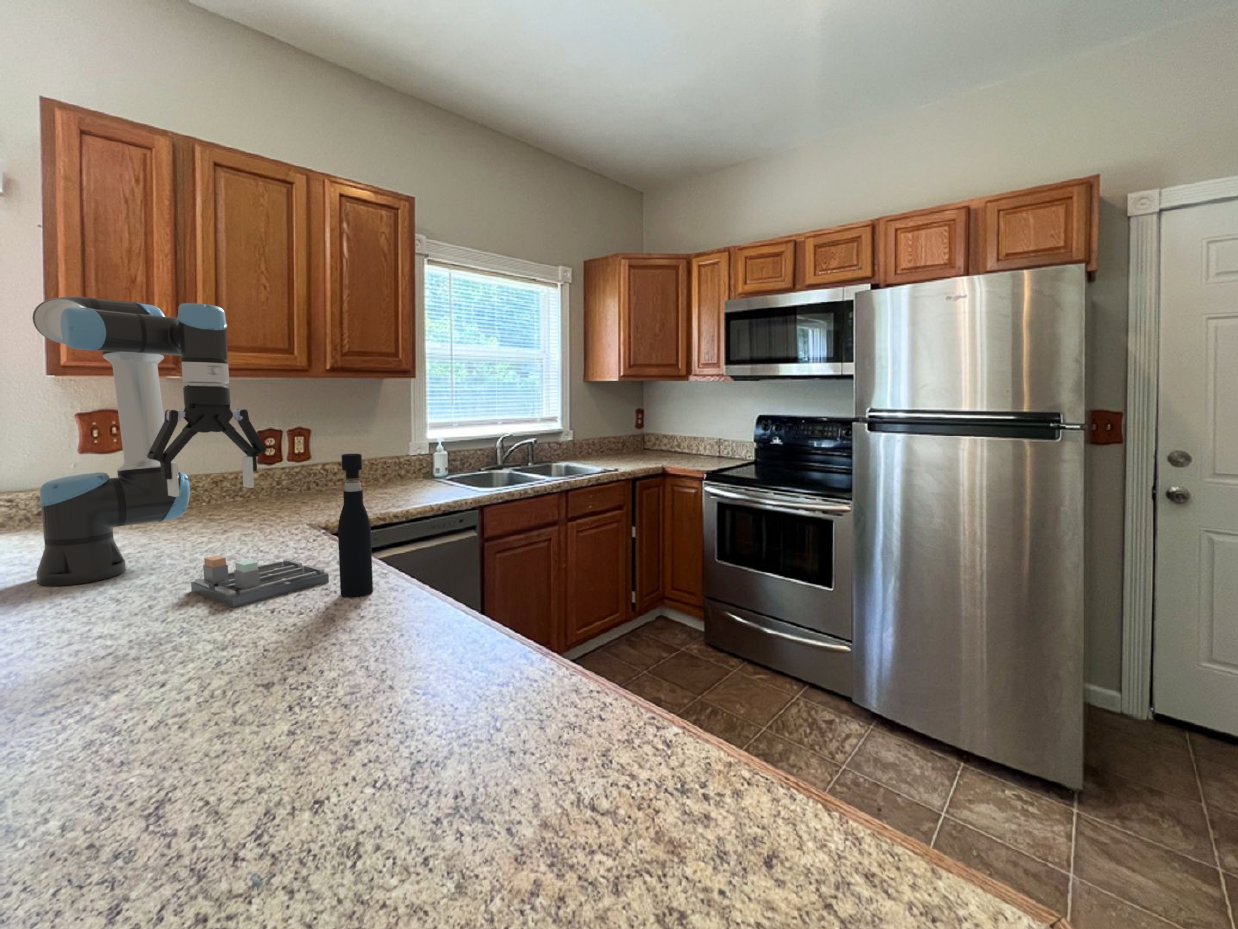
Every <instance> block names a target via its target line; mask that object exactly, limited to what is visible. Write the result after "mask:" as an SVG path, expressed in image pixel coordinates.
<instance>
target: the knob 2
mask: <svg viewBox="0 0 1238 929" xmlns="http://www.w3.org/2000/svg"><path fill="white" fill-rule="evenodd" d="M234 564H235V565H234V566H235V569H234V571H233V572H234V574H235V587H237V588H240V589H247V588H251V587H255V586H259V585H260V573H259V569H258V566H259V564H258V561H255V560H251V559H245V560H241V561H235V562H234Z"/></svg>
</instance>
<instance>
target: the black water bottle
mask: <svg viewBox="0 0 1238 929" xmlns="http://www.w3.org/2000/svg"><path fill="white" fill-rule="evenodd" d="M362 457H363V455H362V453H343V454H341V470H342V471H344V472H345V480H346V481H345V482H344V484H343V486H344V488H343V489H344V490H343V491H342V492H343V493H342V494H343V506H342V508H341V511H340V515H339V519H338V525H337V535H338V536H337V541H338V542H337V543H338V561H339V562H338V564H339V566H338V567H339V587H340V589H339V590H340V596H341V597H343V598H346V599H356V598H362V597H366V596H367V597H368V596H369V595H371V594H372V593H373V592H374V583H373V581H374V579H373V554H372V552H373V551H372V527H371V523H370V518H369V514H368V512H367V510H366V506H365V504H364V494H363V493H364V492H363V490H362V483H361V481H359V480H360V472H359V471H361V470H363V458H362Z"/></svg>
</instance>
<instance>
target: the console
mask: <svg viewBox="0 0 1238 929" xmlns="http://www.w3.org/2000/svg"><path fill="white" fill-rule="evenodd" d="M282 560H283V561H275V562H271V563H266V564H260V565H258V569H259V573H260V585H259V586H255V587H251V588H247V589H240V588H237V587H235V574H234V571H230V572H228V577H229V580H227V581H222V582H218V583H217V584H215V585H214V583H211V582H209V581H206V580H204V578H200V577H199V578H196V579H194V581H192V582H190V590H191V592H193V593H195V594H197V595H201V596H202V597H204V598H207V599H210V600H212V601H215V602H217V603H220V604H221V605H224V606H228V607H229V608H232V609H235V608H238V607H241V606H246V605H249V604H253V603H257V602H260V601H264V600H267V599H271V598H275V597H278V596H283V595H286V594H290V593H293V592H297V591H300V590H301V591H302V590H305V589H309V588H312V587H315V586H320V585H323V584H327V583H329V582H330V578H329V576H330V574H329V573H328V572H325V569H324V568H320V567H317V566H314V565H310V564H307V565H303V562H299V561H296V560H293V559H290V558H286V559H282Z"/></svg>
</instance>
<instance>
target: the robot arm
mask: <svg viewBox="0 0 1238 929" xmlns="http://www.w3.org/2000/svg"><path fill="white" fill-rule="evenodd" d="M177 307H178V308H177V310H178V311H177V317H173V316H166V315H165V314H164V312H163V311H162V310H161V309H160V308H159V307H157V306H155V305H152V304H145V303H140V302H137V301H134V302H133V301H121V300H115V299H114V300H112V299H103V298H94V297H93V298H92V297H87V296H61V297H54V298H50V299H49V298H48V299H46V300H44V301H42V302H41V303H39V304H38V305H37V306H36V307H35V308H34V310H33V312H32V323H33V326H34V327H35V329H36V330H37V332H39V334H40V335H41V336H43V337H44V338H46V339H48V340H49V341H52V342H55V343H57V344H58V343H59V344H62V345H65V346H66V347H68V348H70V349H74V350H82V351H83V350H84V351H86V352H87V351H89V352H95V351H96V352H102V358H103V359H104V360H106V361H107V362H109V363H110V364H111V367H112V371H113V372H112V374H113V381H114V390H115V396H116V398H115V399H116V404H117V412H118V420H119V421H118V422H119V428H120V429H119V430H120V437H121V445H122V452H123V453H122V454H123V461H124V462H123V464H122V465H120V467H119V468H118V469H117V477H111V478H110V476H109V474H108V473H107V472H92V473H82V474H73V475H68V476H65V477H60V478H55V479H52V480H49V481H46V482H44V483H43V484H42V485H41V487H40V488H39V494H40V495H39V504H38V505H39V507H40V510H41V519H42V531H43V539H44V540H43V542H44V550H43V553H42V555H41V558H40V560H39V561H40V562H39V564H38V567H37V570H36V574H35V575H36V583H37V584H38V585H40V586H45V587H46V586H47V587H49V586H51V587H57V586H58V587H59V586H60V587H61V586H72V585H81V584H89V583H93V582H98V581H103V580H106V579H110V578H114V577H117V576H119V575H121V574H123V573H125V572H126V571H127V565H126V560H125V558H124V556H123V554H122V552H121V551H120V549H119V547H118V545H117V543H116V541H115V539H114V528H118V527H124V526H125V527H126V526H132V525H133V526H134V525H141V524H149V523H156V522H158V523H161V522H165V521H170V520H175V519H178V518H181V517H182V516H183V515H184V514H185V513H186V511H187V508H188V506H189V502H190V495H191V494H190V492H191V489H190V488H191V487H190V486H191V484H190V481H189V476H188V475H187V474H186V473H184V472H182V471H179V468H178V462H175V461H174V459H175V458H176V457H177V455H178V454H179V453H181V451H182V450H183V448H184V447H186V445H187V444H188V443H189V442H190V441H191V439H192V438H193V437H194V436H196V435H197V434H198V433H203V434H204V433H206V434H207V433H212V432H213V433H223V434H225V435H226V437H228V438H229V439H230V440H231V441H232V442H233V444H235V445H236V446H237V447H238V448H239V449H240V450H241V451H242V452H243V453H244V454H245V455H241V464H242V465H241V466H242V481H243V482H242V483H243V484H242V486H243V487H244V488H248V489H252V488H253V489H254V488H255V481H254V479H255V477H254V472H257V469H258V460H257V459H258V458H257V457H259V456H260V454H262V453H266V452H267V447H266V446H265V445H264V443H263V441H262V439H261V438H260V436H259V434H258V432H257V431H256V429H255V427H254V426H253V424H252V423H251V421H250V418H249V417H250V416H249V412H248V410H247V409H246V408H245V409H242V408H241V409H240V408H236V409H235V410H232V409H231V392H230V391H231V389H230V388H229V386H227V384H229V383H230V376H229V374H230V373H229V370H230V369H229V359H228V358H229V357H228V356H229V355H228V337H227V336H228V333H227V328H228V324H227V320H226V319H227V318H226V313H225V311H224V309H223V308H222V307H220V306H218V305H217V306H216V305H213V304H206V303H197V302H196V303H193V302H192V303H191V302H185V303H181V304H179V306H177ZM164 355H165V356H166V355H167V356H168V355H169V356H170V355H171V356H175V357H181V358H180V359H181V360H180V361H181V375H182V376H181V377H182V382H183V383H184V384H186V385H184V386H183V387H182V389H183V390H182V392H183V404H184V409H183V411H179V410H176V409H166V410H165V411H164V408H163V407H164V406H163V402H162V393H161V392H162V391H161V384H160V376H159V368H158V365H159V364H160V363H161V362H162V361H163V360H164V359H165V356H164ZM233 418H234V420H236V422H237V423H238V426H239V427H240V428H241V430H242V432H243V434H244V435H245V437H246V438H247V440H248V441H247V440H246V439H245V438H244V437H243V436H242V435H241V434H240V433H239V432H238V431H237V430H236V428H235V426H233V425H232V424H231V423H230V422H231V420H232V419H233ZM182 419H184V420H185V421H186V425H185V426H184V427H183V428H182V429H181V432H180V433H179V434H178V435H177V436H176V438H174V440H173V441H172V442H171V443H170V444H169V446H168V443H169V442H170V440H171V437H172V435H173V434H174V432H175V430H176V427H177V425H178V423H179V422H181V420H182Z"/></svg>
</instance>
